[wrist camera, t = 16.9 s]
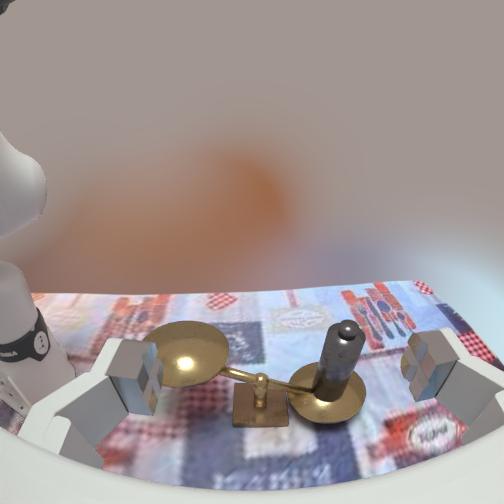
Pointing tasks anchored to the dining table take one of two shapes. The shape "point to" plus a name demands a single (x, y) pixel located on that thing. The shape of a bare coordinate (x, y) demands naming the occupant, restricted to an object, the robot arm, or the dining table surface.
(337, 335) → the iron weight
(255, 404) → the balance
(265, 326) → the dining table surface
